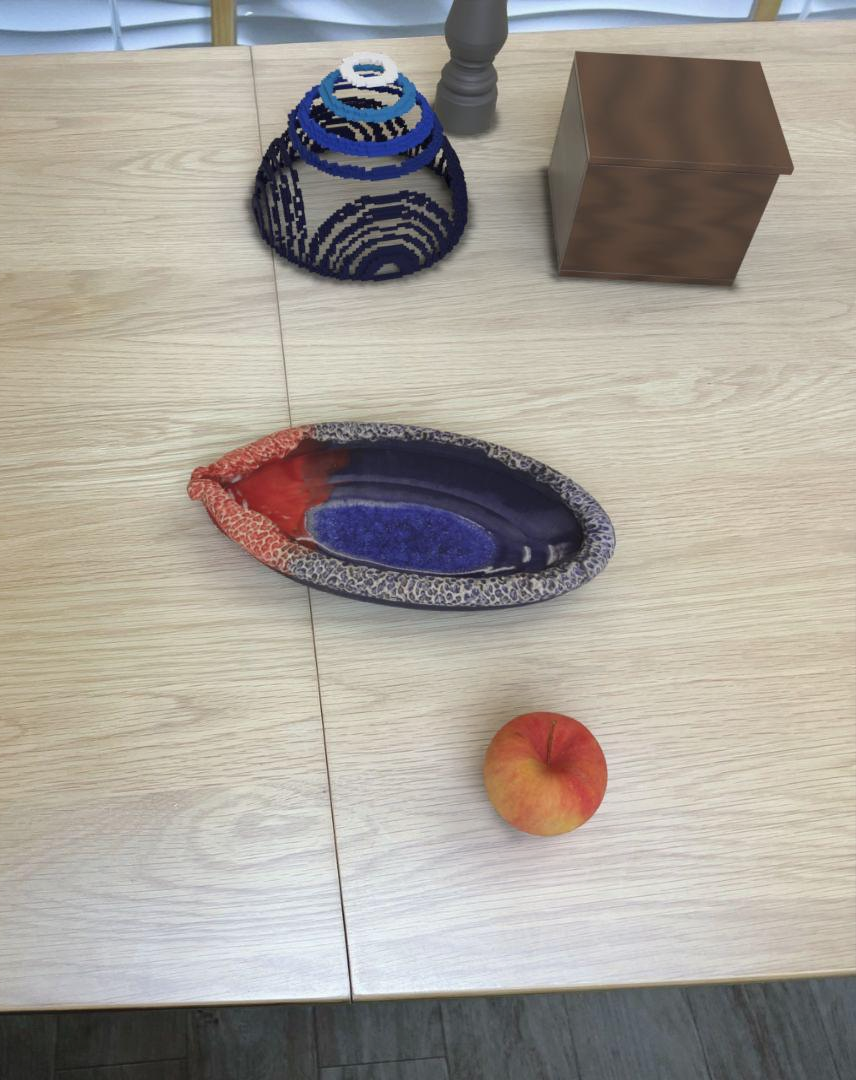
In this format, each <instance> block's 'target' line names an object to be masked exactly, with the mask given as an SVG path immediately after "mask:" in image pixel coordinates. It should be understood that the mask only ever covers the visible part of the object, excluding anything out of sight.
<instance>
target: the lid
mask: <svg viewBox="0 0 856 1080" xmlns="http://www.w3.org/2000/svg"><path fill="white" fill-rule="evenodd" d="M573 59H574V64H575V71H576V78H577V85H578V92H579V99H580V106H581V114H582V121H583V128H584V135H585V142H586V149H587V156H588V163H589V164H605V165H623V166H640V167H657V168H675V169H692V170H710V171H727V172H744V173H762V174H779V175H780V176H791V175H793V172H794V170H795V165H794V163H793V159H792V157H791V156H792V155H791V153H790V150H789V147H788V144H787V141H786V138H785V135H784V131H783V128H782V125H781V122H780V119H779V116H778V113H777V109H776V106H775V104H774V100H773V97H772V94H771V91H770V87H769V84H768V81H767V78H766V75H765V73H764V68H763V66H762V62H761V61H758V60H742V59H739V60H738V59H723V58H720V59H719V58H706V57H705V58H703V57H688V56H686V57H685V56H671V55H669V56H668V55H651V54H633V53H632V54H631V53H615V52H596V51H580V50H579V51H578V50H575V51H574V55H573Z"/></svg>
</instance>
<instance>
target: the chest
mask: <svg viewBox="0 0 856 1080" xmlns="http://www.w3.org/2000/svg"><path fill="white" fill-rule="evenodd" d="M571 64H572V65H571V68H570V73H569V77H568V80H567V81H568V82H567V86H566V89H565V95H564V99H563V103H562V107H561V112H560V116H559V121H558V124H557V130H556V133H555V138H554V143H553V147H552V151H551V157H550V160H549V166H548V169H547V176H548V186H549V196H550V205H551V215H552V223H553V231H554V232H553V234H554V243H555V253H556V262H557V272H558V277H562V278H563V277H564V278H581V279H598V280H612V281H614V280H615V281H632V282H646V283H647V282H648V283H663V284H665V283H668V284H683V285H684V284H685V285H698V286H699V285H700V286H715V287H716V286H718V287H733V286H734V283H735V280H736V278H737V275H738V273H739V272H740V268H741V267H742V263H743V261H744V260H745V256H746V254H747V253H748V250H749V248H750V245H751V244H752V240H753V238H754V236H755V235H756V234H755V233H756V231H757V229H758V227H759V224H760V223H761V220H762V218H763V216H764V213H765V210H766V208H767V206H768V203H769V202H770V199H771V196H772V195H773V192H774V189H775V187H776V185H777V182H778V180H779V178H780V176H781V175H779V174H762V173H744V172H727V171H710V170H692V169H675V168H657V167H640V166H623V165H605V164H589V163H588V156H587V149H586V142H585V135H584V128H583V121H582V114H581V106H580V99H579V92H578V85H577V78H576V71H575V64H574V58H573V60H572V63H571Z"/></svg>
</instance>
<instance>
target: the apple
mask: <svg viewBox="0 0 856 1080" xmlns="http://www.w3.org/2000/svg"><path fill="white" fill-rule="evenodd" d="M482 770H483V771H482V775H483V784H484V788H485V791H486V794H487V796H488V799H489V801H490V803H491V805H492V806H493V808H494V810H495V811H496V812H497V813H498V814H499V815H500V817H501V818H502V819H503V820H504V821H505V822H507V823H508V824H509V825H511V826H512V827H513V828H515V829H517V830H520V832H523V833H525V834H529V835H533V836H539V837H555V836H560V835H565V834H569V833H570V832H573V831H575V830H576V829H579V828H580V827H582V826H583V825H585V824H586V823H587V822H588V821H589V820H590V819H591V818H593V816H594V815H595V814H596V812H597V811H598V810H599V808H600V806H601V804H602V802H603V800H604V797H605V795H606V791H607V788H608V779H609V778H608V777H609V775H608V774H609V773H608V766H607V760H606V756H605V753H604V751H603V749H602V747H601V744H600V743H599V742H598V740H597V738H596V737H595V735H594V734H593V733H592V731H591V730H589V729H588V727H587V726H585V725H584V724H583V723H582V722H581V721H579V720H578V719H575V718H574V717H571V716H568V715H564V714H561V713H557V712H551V711H532V712H531V711H530V712H527V713H523V714H520V715H518V716H516V717H514V718H512V719H510V720H509V721H508V722H506V723H505V724H504V725H502V727H501V728H500V729H499V730H497V731H496V733H495V734H494V736H493V737H492V739H491V740H490V743H489V744H488V747H487V749H486V752H485V756H484V760H483V768H482Z"/></svg>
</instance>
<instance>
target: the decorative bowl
mask: <svg viewBox="0 0 856 1080" xmlns="http://www.w3.org/2000/svg"><path fill="white" fill-rule="evenodd" d="M368 62H370V63H368ZM361 63H363V64H361ZM364 63H365V64H364ZM376 63H377V64H376ZM399 71H400V70H399V68H398V66H397V64H396V62H395V60H394V59H391V58H390V56H389V54H385V53H378V52H371V50H370V51H362V52H352V53H351V55H349V56H348V57H342V58H341V63H340V65H338V68H337V69H334V70H333V71H330V72H329V73H327V75H325V77H323V79H320V83H319V84H316V85H314V86H313V85H312V86H311V89H310V90H309V91H306V92H305V93H304V97H302V99H300V101H299V103H297V104H296V105H295V108H294V109H290V113H287V119H288V120H286V125H287V127H286V129H285V130H284V132H282V133H280V134H281V135H280V137H274V138H273V140H272V141H271V142H270V143H269V145H268V146H267V147H268V148H267V149H266V151H265V153H264V155H263V156H262V161H261V162H260V165H259V166H258V168H257V169H258V170H257V171H256V174H255V182H254V193H252V198H251V209H252V212H253V215H254V219H255V222H256V224H257V227H258V230H259V233H260V237H261V239H262V240H265V242H266V245H267V246H270V249H274V252H275V254H279V257H280V258H282V257H283V259H286V261H287V262H288V263H289V262H290V263H291V264H294V265H295V266H296V265H297V267H298V269H302V268H304V269H305V270H308V272H309V273H310V274H311V273H315V274H317V275H318V274H319V276H323V278H326V277H329V278H330V279H332V278H335V279H336V280H339V281H348V280H351V281H352V282H355V281H361V282H362V283H363V282H370V281H373V282H374V283H376V282H381V281H388V280H389V281H390V280H396V279H397V280H398V279H403V278H404V276H408V275H409V276H410V275H414V273H417V272H422V270H424V269H428V268H432V266H434V264H435V263H436V264H437V263H438V262H439V261H442V260H443V259H444V258H445V257H446V256H447V253H448V254H450V253H452V251H453V250H454V247H456V246H458V244H459V243H460V239H461V238H462V236H463V235H464V231H465V229H466V225H467V224H468V219H469V218H468V214H469V213H468V212H469V208H468V205H469V195H468V190H467V189H468V188H467V181H466V180H465V179H466V176H465V171H464V169H463V168H462V165H461V161H460V158H459V156H458V154H457V152H456V150H455V149H454V148H453V146H452V144H451V142H450V140H449V138H448V136H447V134H444V131H445V130H444V129H443V127H442V125H441V123H440V121H439V119H438V117H437V115H436V114H435V112H434V110H433V109H432V108H431V107H432V106H431V105H430V103H429V101H428V100H427V98H426V96H424V94H422V93H421V91H420V92H419V91H418V90H417V87H416V85H415V83H414V81H410V79H409V78H408V77H407V76H404V74H403V72H399ZM359 72H371V73H363V74H361V73H359ZM375 73H380V74H375ZM339 83H343V84H339ZM390 85H392V86H390ZM394 87H395V88H394ZM353 89H357V90H359V91H368V92H372V91H374V92H375V93H377V92H378V94H384V93H387V94H388V95H391V96H396V95H397V97H398V99H397V101H395V103H393V105H388V104H383V101H382V100H376V99H375V98H374V97H373V98H366V97H358V96H357V95H355V96H347V97H337V95H334V94H336V93H337V91H344V90H353ZM319 99H321V101H322V102H320V104H314V101H316V100H319ZM415 106H417V107H419V108H420V110H421V112H420V116H421V117H420V121H416V124H415V127H413V128H410V129H409V128H408V125H407V124H406V120H405V119H403V117H404V115H405V114H409V112H411V110H413V108H415ZM393 121H394V122H393ZM361 122H363V124H365V125H367V126H368V128H370V129H371V130H372V135H371V133H370V132H369V131H368V128H366V127H365V126H363V124H361ZM381 123H383V125H384V126H385V129H386V130H387V131H388V132H389V133H390V137H392V138H389V137H388V135H386V134H385V133H383V132H384V127H383V126H381ZM343 124H347V125H343ZM348 124H349V125H348ZM334 125H335V126H334ZM336 125H338V126H336ZM339 125H340V126H339ZM394 125H396V126H397V127H399V129H402V130H401V132H400V131H399V130H398V129H396V126H394ZM328 126H331V127H328ZM349 126H351V127H349ZM351 128H353V129H354V130H358V133H359V134H361V136H363V140H358V138H356V135H357V133H356V131H354V130H353V129H351ZM298 129H301V130H299V132H298ZM399 132H400V133H399ZM399 134H400V135H399ZM373 137H374V140H373ZM311 140H312V143H311ZM290 143H291V146H289V144H290ZM308 146H309V149H308ZM413 149H414V150H413ZM441 150H442V152H441ZM326 151H327V152H328V151H329V152H333V153H340V154H344V156H349V155H350V156H351V157H355V156H358V158H363V157H364V158H365V157H367V158H368V159H370V158H371V159H372V158H378V157H385V156H393V155H394V156H395V155H396V156H399V157H403V156H404V158H405V161H404V160H403V161H400V166H397V164H389V165H382V166H374V167H371V170H366V166H359V165H358V164H357V165H352V164H343V165H340V164H339V163H338V161H336V162H335V161H334V162H328V159H321V158H320V155H319V154H324V153H325V152H326ZM413 151H414V155H413ZM419 152H420V153H419ZM297 153H298V155H296V154H297ZM440 153H441V157H440V158H438V163H437V166H435V165H436V160H437V156H438V154H440ZM278 156H279V159H278ZM298 160H304V163H305V165H308V166H309V167H313V168H316V169H317V171H318V172H319V171H321V173H325V174H328V175H329V176H332V177H339V178H343V180H349V179H353V180H354V181H356V180H359V181H360V182H364V181H369V182H378V181H379V182H380V181H387V180H395V179H401V178H402V176H409V175H410V173H416V172H418V170H422V169H423V168H425V167H426V168H427V169H430V171H431V172H433V171H434V173H435V175H436V176H439V177H440V178H443V181H444V182H445V184H446V185H447V188H448V189H450V190H451V192H453V193H452V194H451V198H450V201H451V202H452V207H451V209H452V211H453V212H452V214H451V215H452V216H451V218H452V219H451V218H449V216H450V212H449V211H447V210H446V209H445V208H444V207H441V206H440V205H439V203H437V202H436V200H432V197H431V196H427V192H418V191H417V190H416V191H415V190H414V191H410V190H409V189H404V190H403V189H402V190H399V191H398V192H396V193H388V194H382V195H380V194H379V195H374V196H371V194H366V195H360V197H359V198H355V199H354V201H353V202H354V203H352V202H346V203H344V205H342V206H341V208H339V209H335V212H332V215H329V218H326V220H325V221H323V223H320V226H317V232H314V236H313V237H310V240H311V241H310V242H308V245H307V246H308V252H306V240H309V236H308V229H307V227H305V226H308V225H307V224H308V223H307V218H306V213H305V211H306V209H305V208H306V206H305V202H304V201H305V200H304V199H303V198H304V197H303V191H302V187H298V183H300V177H299V172H298V170H297V168H296V169H294V168H293V163H294V162H298ZM444 164H446V165H445V167H444ZM284 168H288V169H289V174H290V178H291V181H292V187H293V191H294V195H292V191H291V188H290V183H289V178H288V175H287V174H284V173H283V170H282V169H284ZM443 169H444V170H443ZM276 173H277V174H278V175H279V181H280V183H279V184H278V181H277V178H276V176H275V174H276ZM268 183H269V188H270V191H271V197H272V202H273V206H271V207H270V202H269V196H268V193H267V191H266V185H267V184H268ZM283 185H284V186H285V187H283ZM261 194H262V196H261ZM261 197H263V200H264V204H265V205H264V206H265V211H266V215H267V224H268V230H269V231H267V229H265V227H266V226H265V225H266V224H265V218H264V212H263V207H262V205H261V203H260V200H261ZM410 197H411V198H410ZM297 198H298V199H299V201H297ZM402 200H405V203H406V204H411V205H412V206H417V207H418V208H421V207H425V211H426V212H428V214H432V213H433V215H435V220H440V224H439V223H436V222H435V221H434V220H433V219H431V218H430V217H428V215H425V212H424V210H423V211H418V210H417V209H411V205H405V203H402ZM280 201H281V206H282V211H283V218H284V223H285V224H287V225H284V226H285V228H284V229H285V235H283V230H282V223H281V216H280V210H279V202H280ZM395 203H402V204H395ZM358 204H360V205H358ZM388 204H393V205H388ZM291 205H293V211H294V212H291V211H292V210H291ZM366 205H374V206H378V207H372V208H368V210H367V211H362V210H366V209H367V207H366ZM380 205H381V206H380ZM382 205H387V206H382ZM360 211H362V212H361V215H362V216H358V217H356V222H352V223H351V222H350V225H348V226H344V229H343V228H342V229H341V231H339V232H337V234H336V235H335V236H334V237H332V238H331V243H329V244H328V248H326V249H325V253H322V258H320V259H319V264H316V263H317V256H320V246H323V244H324V243H326V238H329V237H330V235H332V230H334V229H335V228H336V225H337V224H343V223H345V221H346V220H348V217H355V216H357V214H359V213H360ZM299 212H301V214H299ZM412 218H413V219H412ZM296 219H298V220H296ZM398 219H401V220H402V221H406V222H398V223H396V225H391V226H385V227H384V226H383V227H380V225H376V226H373V225H374V223H376V222H383V221H388V220H389V221H391V220H398ZM408 220H413V222H419V224H421V225H422V226H424V228H426V229H427V230H429V232H431V233H429V232H428V231H426V230H425V229H424V228H423V227H421V225H419V224H418V225H415V223H412V221H408ZM293 222H295V229H296V233H297V234H294V231H293V228H294V227H293ZM274 225H276V229H277V230H274ZM365 226H370V227H366V230H361V229H365ZM440 226H441V227H443V229H444V231H445V233H446V236H445V234H444V232H443V230H441V229H440ZM400 228H404V230H411V229H412V230H413V231H415V232H416V233H418V236H419V235H420V236H421V237H422V238H423V237H426V238H425V242H423V240H421V239H420V238H418V236H414V237H413V235H411V234H410V233H402V234H396V233H395V232H394V231H398V230H399V229H400ZM359 230H360V233H358V232H359ZM267 232H268V233H269V235H268V233H267ZM301 232H302V233H301ZM372 232H379V233H384V234H382V236H381V237H372V238H368V239H367V241H366V240H365V236H367V235H371V233H372ZM387 232H392V233H387ZM356 233H357V236H354V235H355V234H356ZM431 234H433V235H431ZM297 235H300V236H299V238H298V236H297ZM275 236H276V237H275ZM350 236H352V237H351V239H349V237H350ZM286 238H287V239H286ZM434 238H435V239H434ZM346 239H348V243H347V245H343V242H346V241H347V240H346ZM359 239H362V240H360V244H359V245H358V247H355V250H352V253H347V250H350V248H352V247H353V245H355V244H356V242H359ZM295 240H296V241H297V252H298V255H295V249H293V248H294V247H295ZM396 240H403V242H405V243H406V244H409V243H410V244H411V245H413V247H415V248H416V249H418V251H419V252H420V254H421V256H423V257H424V258H425V261H424V262H423V263H422V264H420V261H421V260H420V259H421V258H420V255H418V254H417V253H416V250H415V248H412V249H410V247H408V246H407V245H405V244H404V243H398V244H389V245H383V246H378V243H383V242H390V241H396ZM283 241H286V242H283ZM275 242H276V243H277V242H278V245H275ZM436 243H438V244H437V245H438V247H439V251H438V247H437V246H436ZM341 244H342V246H341V248H339V249H338V255H336V254H337V245H341ZM426 244H428V246H430V249H431V251H432V253H431V252H430V251H429V249H428V247H427V245H426ZM372 246H377V247H376V249H372ZM367 249H372V250H370V252H368V253H367V255H364V256H361V261H358V264H357V265H358V266H355V268H354V273H352V274H350V266H354V261H356V260H357V258H360V255H363V253H364V252H366V250H367ZM344 253H347V254H345V256H344ZM303 255H304V260H303ZM334 255H336V256H335V260H334V261H332V268H331V267H330V266H331V259H330V258H333V257H334ZM340 259H342V260H341V263H342V264H339V263H340ZM314 264H315V265H314ZM337 264H339V265H338V271H337ZM391 264H393V265H394V266H396V268H398V269H399V271H395V272H388V273H382V274H377V272H378V271H380V270H381V268H384V265H391ZM334 271H337V272H334ZM375 274H376V275H375Z"/></svg>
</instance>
